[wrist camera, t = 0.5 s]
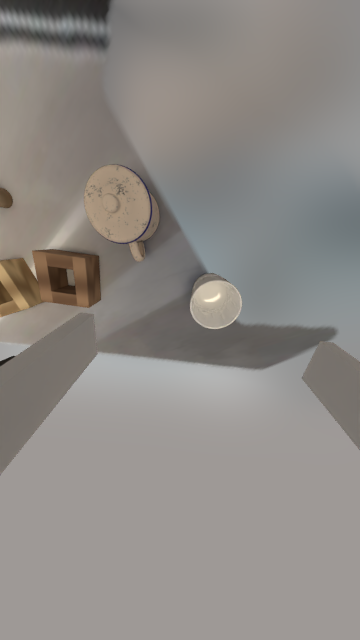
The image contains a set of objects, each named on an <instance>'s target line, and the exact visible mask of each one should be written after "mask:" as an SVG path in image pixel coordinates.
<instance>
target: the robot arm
mask: <svg viewBox="0 0 360 640" xmlns="http://www.w3.org/2000/svg"><path fill="white" fill-rule="evenodd" d="M97 354H98V353H97V343H96V332H95V322H94V314H87V313H79V314H78V315H76V316H75V317H73V318H72V319H70V320H69V321H67V322H66V323H64V324H63V325H61V326H60V327H58V328H57V329H56V330H54V331H53V332H51V333H50V334H48V335H47V336H45V337H44V338H42V339H41V340H39V341H38V342H36V343H35V344H33V345H32V346H30V347H29V348H27V349H26V350H24V351H23V352H21V353H20V354H18V355H17V356H12V357H9V358H7V359H5V360H2V361H0V475H1V473H2V472H3V471H4V470H5V468H6V467H7V466H8V465H9V463H10V462H11V461H12V460H13V459H14V457H15V456H16V455H17V454H18V452H19V451H20V450H21V448H22V447H23V446H24V445H25V443H26V442H27V441H28V440H29V439H30V437H31V436H32V435H33V434H34V432H35V431H36V430H37V428H38V427H39V426H40V425H41V424H42V422H43V421H44V420H45V419H46V417H47V416H48V415H49V414H50V412H51V411H52V410H53V409H54V407H55V406H56V405H57V404H58V402H59V401H60V400H61V399H62V398H63V396H64V395H65V394H66V393H67V391H68V390H69V389H70V388H71V386H72V385H73V384H74V382H75V381H76V380H77V379H78V378H79V376H80V375H81V374H82V373H83V371H84V370H85V369H86V368H87V366H88V365H89V364H90V363H91V362H92V360H93V359H94V358H95V357H96V355H97ZM302 379H303V380H304V382H305V383H306V384H307V385H308V387H309V388H310V389H311V390H312V391H313V393H314V394H315V395H316V396H317V398H318V399H319V400H320V402H321V403H322V404H323V405H324V406H325V408H326V409H327V410H328V411H329V413H330V414H331V415H332V416H333V417H334V419H335V420H336V421H337V422H338V424H339V425H340V426H341V427H342V429H343V430H344V431H345V432H346V433H347V435H348V436H349V437H350V439H351V440H352V441H353V442H354V444H355V445H356V446H357V447H358V449H359V450H360V362H359V361H358V360H357V359H355V358H354V357H352V356H351V355H349V354H348V353H347V352H345V351H344V350H342V349H341V348H340V347H338V346H337V345H336V344H334V343H331V342H322V341H320V343H319V345H318V347H317V349H316V351H315V353H314V355H313V357H312V359H311V361H310V363H309V365H308V367H307V369H306V371H305V373H304V375H303V377H302Z"/></svg>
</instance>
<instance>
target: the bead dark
mask: <svg viewBox="0 0 360 640" xmlns="http://www.w3.org/2000/svg"><path fill="white" fill-rule="evenodd" d="M32 253H33V258H34V263H35V269H36V274H37V279H38V284H39V290H40V295H41V300H42V301H44V302H52V303H59V304H66V305H73V306H80V307H87V308H89V307H91V306H92V305H94V304H95V303H97V302H98V301H100V300H101V293H100V273H99V256H95V255H88V254H81V253H74V252H68V251H61V250H54V249H50V250H35V251H32ZM66 269H72V270H74V278H75V286H69V285H68V280H67V272H66Z"/></svg>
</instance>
